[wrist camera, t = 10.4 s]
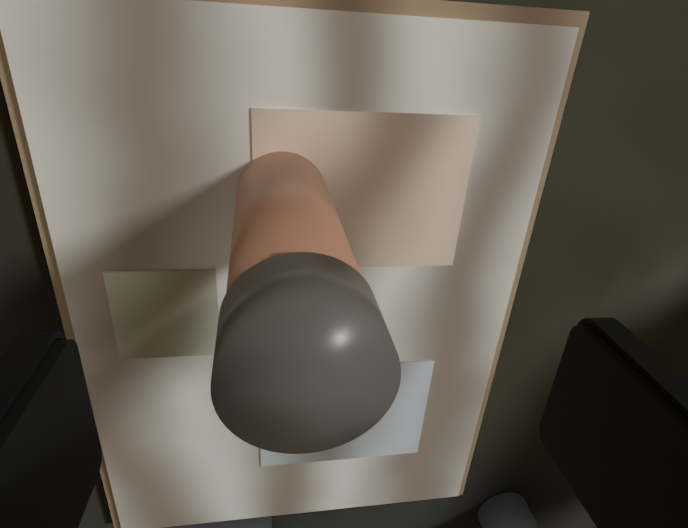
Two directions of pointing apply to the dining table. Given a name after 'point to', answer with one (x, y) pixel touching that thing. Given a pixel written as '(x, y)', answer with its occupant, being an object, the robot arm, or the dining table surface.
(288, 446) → the marker terracotta
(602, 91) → the dining table surface
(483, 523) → the slate
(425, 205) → the worksheet
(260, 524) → the button housing
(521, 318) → the dining table surface
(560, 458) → the robot arm
